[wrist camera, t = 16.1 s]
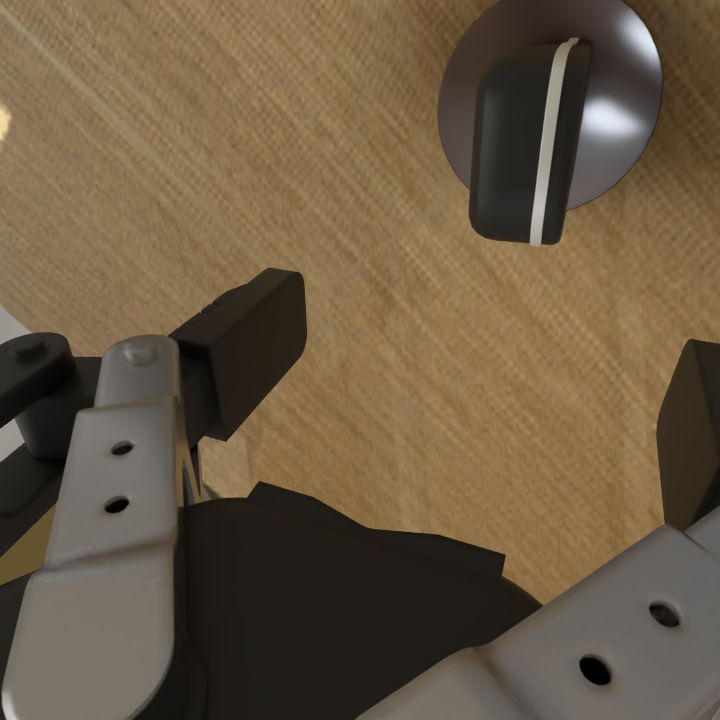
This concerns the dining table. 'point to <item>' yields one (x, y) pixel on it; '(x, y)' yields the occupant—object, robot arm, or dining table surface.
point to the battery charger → (527, 141)
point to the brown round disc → (604, 88)
